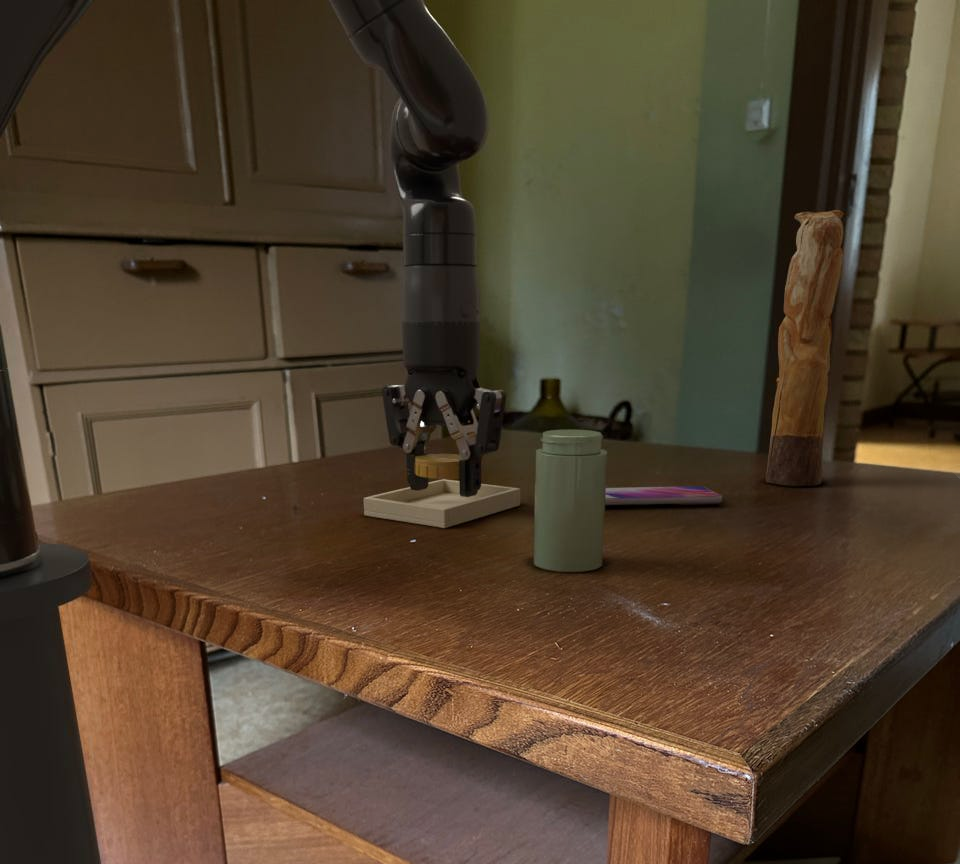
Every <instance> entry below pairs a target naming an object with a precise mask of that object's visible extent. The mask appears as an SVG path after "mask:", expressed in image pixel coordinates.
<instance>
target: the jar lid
mask: <svg viewBox="0 0 960 864" xmlns="http://www.w3.org/2000/svg"><path fill="white" fill-rule="evenodd" d="M460 459H463V458H462V457H461V455H460V454H458V453H428V454H426V455H419V456H416V457H415V474H416V475H417V476H420V477H425V478H428V479H435V480H442V479H446V480H455V479H459V460H460Z"/></svg>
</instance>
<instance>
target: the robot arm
mask: <svg viewBox="0 0 960 864" xmlns="http://www.w3.org/2000/svg"><path fill="white" fill-rule="evenodd" d="M327 1H328V3H329V5H330V6H331V9H332V10H333V12H334V14H335V16H336V18H337V20H338V22H339V23H340V25H341V27H342V29H343V31H344V33H345V35H346V36H347V38H349V39H348V40H349V42H350V44H351V46H352V48H353V49H354V51H355V53H356V55H357V56H358V57H359V59H360V60H361V61H362V63H363V64H364V65H365V66H366V67H368V68H370V69H373V70H378V71H381V72H382V73H383V74H384V75H385V76H386V78H387V79H388V81H389V82H390V84H391V86H392V87H393V88H394V90H395V91H396V94H398V96H399V98H398V100H397V101H396V102H395V105H394V106H393V107H394V108H393V109H392V112H391V117H390V122H389V136H388V141H389V155H390V161H391V168H392V172H393V178H394V184H395V188H396V194H397V198H398V202H399V206H400V210H401V216H402V265H403V268H402V269H403V270H402V283H401V296H400V297H401V298H400V299H401V331H402V333H401V334H402V335H401V337H402V361H403V362H402V364H403V367H404V368H405V369H406V370H407V376H406V380H405V382H404V384H393V385H391V384H390V385H385V386H383V387H382V389H381V395H382V401H383V408H384V416H385V422H386V429H387V434H388V439H389V444H390V445H391V446H394V447H395V446H397V447H399V448H400V449H402V450H403V452H404V453H405V454H406V480H407V482H408V485H409V487H410V488H411V489H412V490H416V491H419V490H423V489H426V488H427V487H428V483H429V478H425V477H420V476H417V475H416V474H415V457H416V456H419V455H426V454H429V453H428V452H427V451H426V452H425V450H426V449H427V446H428V444H429V441H430V438H431V435H432V433H434V432H435V430H436V428H437V426H441V427H444V428H447V430H448V434H449V436H450V438H452V439H453V440H454V441H455V444H456V447H457V449H458V450H457V451H458V453H459V455H461V457H462V458H463V459H460V460H459V478H458V479H459V480H458V481H459V488H460V495H461V496H463V497H470V496H474V495H476V494H477V492H478V490H480V487H481V484H482V459H483V457H485V455H487V454H490V453H494V452H497V451H498V450H499V449H500V443H501V436H502V429H503V421H504V416H505V415H504V414H505V409H506V401H507V393H506V392H505V391H504V390H503V389H497V390H491V389H488V388H483V387H481V384H480V381H479V378H478V370H479V368H480V365H481V289H480V282H479V272H478V271H479V270H478V269H479V268H478V219H477V212H476V209H475V206H474V205H473V204H472V203H471V202H470V201H469V200H467V199H466V198H463V192H462V184H461V176H460V167H459V166H460V165H459V164H462V163H464V162H467V161H469V160H470V159H472V158H473V157H474V156H476V155H477V154H478V153H479V152H480V151H481V150H482V148H483V147H484V145H485V143H486V141H487V138H488V136H489V135H488V134H489V128H490V113H489V109H488V103H487V100H486V96H485V94H484V91H483V89H482V87H481V84H480V82H479V80H478V78H477V76H476V74H475V73H474V71H473V70H472V68H471V67H470V65H469V63H468V62H467V61H466V59H465V58H464V57H463V55H462V53H461V52H460V51H459V50H458V48H457V47H456V45H455V44H454V42H453V41H452V40H451V39H450V37H449V36H448V34H447V33H446V32H445V29H443V27H442V26H440V24H439V23H438V22H437V20H436V19H435V18H434V17H433V16H432V14H431V13H430V12H429V9H428V8H427V6H426V4H425V1H424V0H327ZM95 2H96V0H0V140H1V139H2V137H3V136H4V133H5V131H6V129H7V127H8V125H9V123H10V122H11V119H12V117H13V115H14V114H15V112H16V110H17V109H18V106H19V104H20V102H21V100H22V99H23V98H24V97H23V96H24V94H25V93H26V92H27V89H28V88H29V86H30V84H31V82H32V81H33V78H34V77H35V75H36V74H37V72H38V70H39V69H40V67H41V66H42V64H43V63H44V62H45V60H46V59H47V57H48V56H49V55H50V54H51V52H53V50H54V49H55V48H56V47H57V45H59V43H60V42H61V41H63V39H64V38H65V37H66V36H67V35H68V34H69V33H70V31H72V30H73V28H75V26H76V25H77V24H78V23H79V21H80V20H81V19H82V18H83V16H85V14H86V12H88V10H89V9H90V8H91V7H92V5H93V4H94V3H95ZM6 354H7V353H6V348H5V341H4V335H3V331H2V325H1V324H0V579H2V578H6V577H10V576H14V575H17V574H21V573H24V572H26V571H29V570H31V569H33V568H35V567H37V566H39V565H40V564H41V563H42V556H41V550H40V546H39V545H38V543H39V538H38V533H37V530H36V524H35V517H34V513H33V507H32V501H31V495H30V490H29V483H28V477H27V472H26V466H25V460H24V454H23V453H24V452H23V448H22V443H21V437H20V431H19V424H18V419H17V414H16V412H17V411H16V408H15V407H16V406H15V401H14V394H13V390H12V389H13V388H12V384H11V378H10V372H9V369H8V368H9V365H8V360H7V355H6ZM409 403H410V404H411V406H412V407H411V410H410V408H409ZM476 404H477V405H476ZM475 406H476V409H477V410H479V412H478V413H479V414H478V419H477V416H476V414H475V410H474V407H475ZM462 424H464V425H462Z"/></svg>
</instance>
